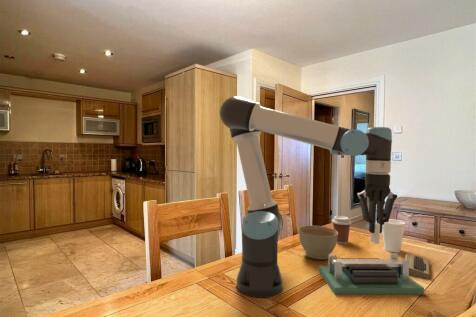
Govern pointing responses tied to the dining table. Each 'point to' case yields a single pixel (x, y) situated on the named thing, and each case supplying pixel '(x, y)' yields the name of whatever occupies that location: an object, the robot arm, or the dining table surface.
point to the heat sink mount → (370, 272)
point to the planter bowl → (318, 241)
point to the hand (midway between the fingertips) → (375, 242)
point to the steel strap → (368, 262)
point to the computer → (418, 266)
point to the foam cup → (393, 235)
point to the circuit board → (350, 288)
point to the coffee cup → (341, 228)
